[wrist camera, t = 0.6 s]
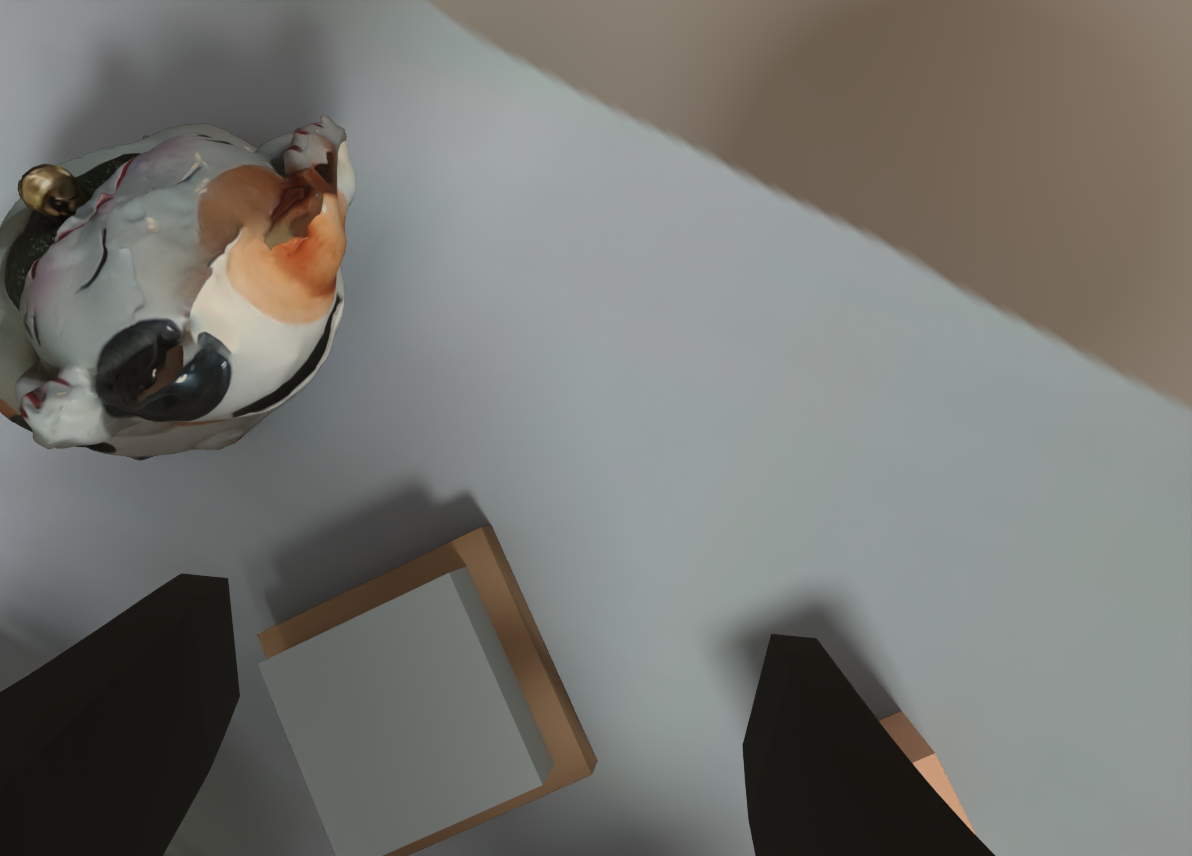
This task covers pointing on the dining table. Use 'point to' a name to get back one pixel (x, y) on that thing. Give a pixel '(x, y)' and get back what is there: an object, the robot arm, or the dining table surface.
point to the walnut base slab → (513, 633)
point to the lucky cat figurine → (172, 287)
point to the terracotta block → (923, 759)
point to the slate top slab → (407, 718)
